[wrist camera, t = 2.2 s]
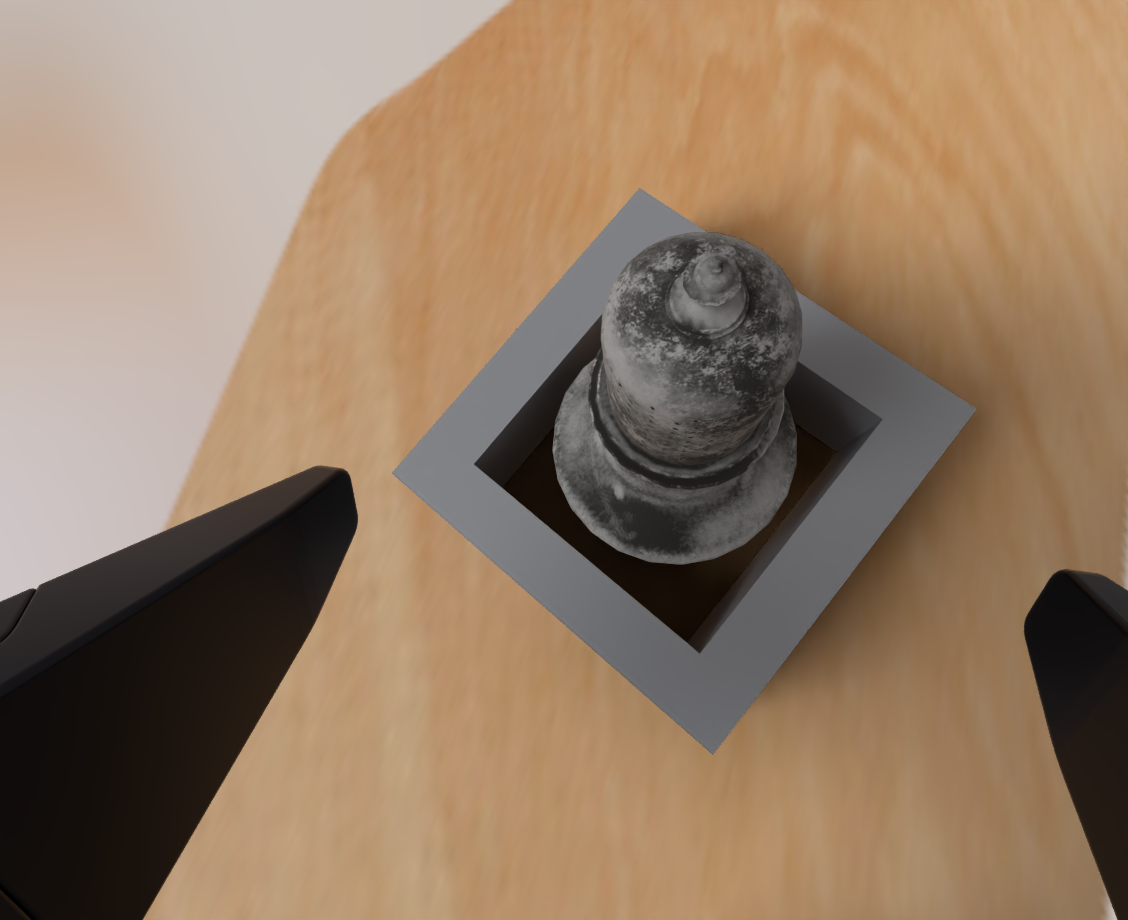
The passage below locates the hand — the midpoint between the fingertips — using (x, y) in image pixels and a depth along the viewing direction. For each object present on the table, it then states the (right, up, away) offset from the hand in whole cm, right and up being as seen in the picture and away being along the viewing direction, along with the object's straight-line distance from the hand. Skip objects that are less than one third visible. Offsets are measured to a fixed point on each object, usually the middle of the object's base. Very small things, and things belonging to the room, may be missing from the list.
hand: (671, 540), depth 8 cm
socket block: (+2, +1, +10) cm, 11 cm away
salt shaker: (+2, +1, +11) cm, 11 cm away
